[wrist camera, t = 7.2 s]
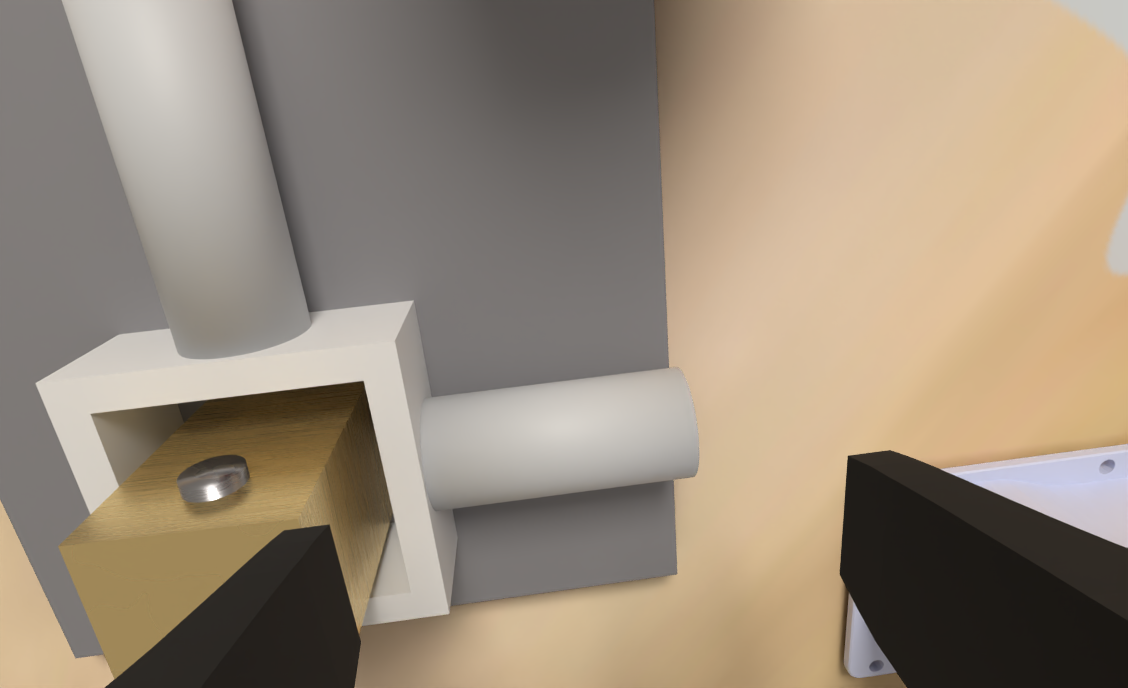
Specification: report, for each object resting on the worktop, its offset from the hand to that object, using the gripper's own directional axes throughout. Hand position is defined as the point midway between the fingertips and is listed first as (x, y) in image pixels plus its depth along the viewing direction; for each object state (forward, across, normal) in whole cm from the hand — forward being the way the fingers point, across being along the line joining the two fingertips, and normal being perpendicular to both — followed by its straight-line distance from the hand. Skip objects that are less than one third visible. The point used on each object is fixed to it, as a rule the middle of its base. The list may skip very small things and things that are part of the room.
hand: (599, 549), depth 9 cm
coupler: (+8, +7, +2) cm, 11 cm away
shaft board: (+9, +6, -1) cm, 11 cm away
